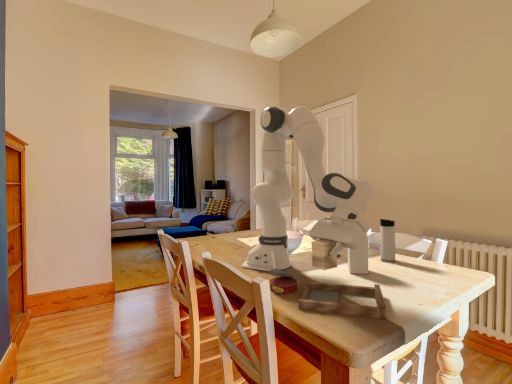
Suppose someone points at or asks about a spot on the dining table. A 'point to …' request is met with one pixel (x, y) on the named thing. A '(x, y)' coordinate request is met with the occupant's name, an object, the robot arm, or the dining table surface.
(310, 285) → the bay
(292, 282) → the canned food
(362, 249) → the milk carton
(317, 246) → the tan wooden block
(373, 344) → the dining table surface
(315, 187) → the robot arm
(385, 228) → the travel mug
